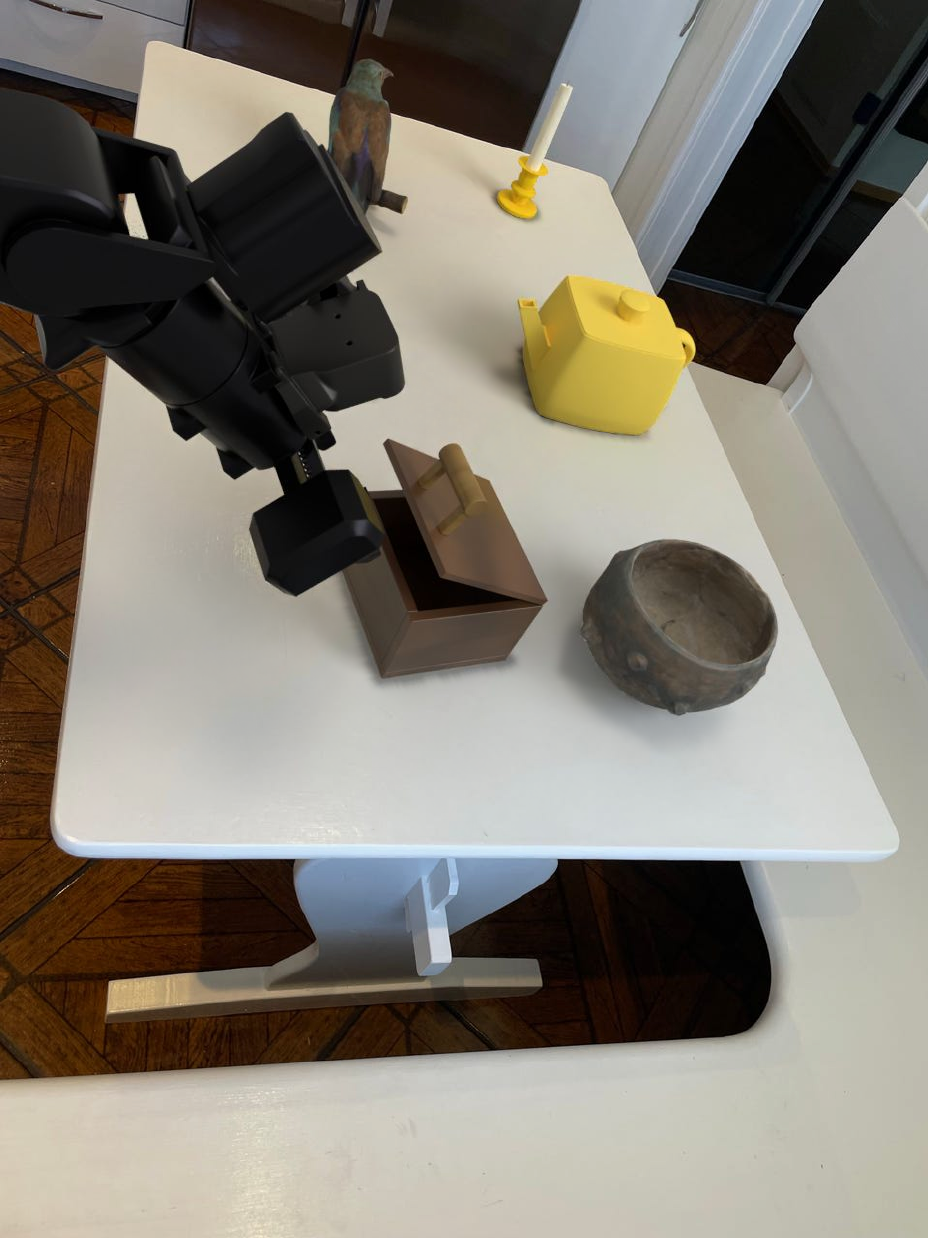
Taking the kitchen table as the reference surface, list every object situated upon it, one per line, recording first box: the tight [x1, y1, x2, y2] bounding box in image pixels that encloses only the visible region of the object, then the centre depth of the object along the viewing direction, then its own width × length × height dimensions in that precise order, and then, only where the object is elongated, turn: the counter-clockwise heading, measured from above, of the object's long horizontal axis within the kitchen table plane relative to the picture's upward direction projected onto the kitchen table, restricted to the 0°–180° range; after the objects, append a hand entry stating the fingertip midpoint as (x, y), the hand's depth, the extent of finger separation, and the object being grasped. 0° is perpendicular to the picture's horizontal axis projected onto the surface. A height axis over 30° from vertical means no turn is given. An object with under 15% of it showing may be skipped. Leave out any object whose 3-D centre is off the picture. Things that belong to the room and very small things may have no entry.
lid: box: [382, 438, 549, 606], centre depth 64 cm, size 11×12×4 cm
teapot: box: [517, 274, 696, 436], centre depth 92 cm, size 20×12×12 cm, turn 98°
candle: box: [496, 80, 574, 219], centre depth 110 cm, size 5×5×16 cm
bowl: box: [579, 538, 779, 717], centre depth 73 cm, size 14×15×10 cm
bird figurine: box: [326, 58, 409, 215], centre depth 97 cm, size 13×10×20 cm
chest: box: [341, 489, 544, 680], centre depth 70 cm, size 11×12×7 cm
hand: (350, 499), depth 58 cm, fingers open, 9 cm apart
